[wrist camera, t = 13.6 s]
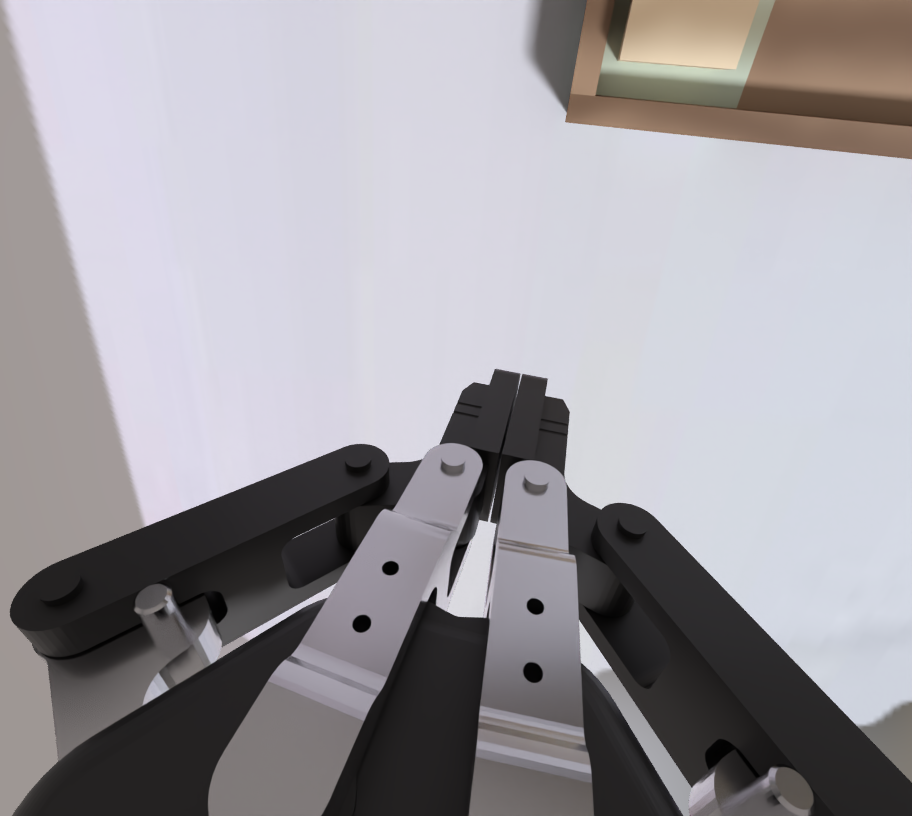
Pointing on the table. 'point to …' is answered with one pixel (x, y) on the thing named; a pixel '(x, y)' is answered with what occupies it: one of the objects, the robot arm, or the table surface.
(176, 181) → the table surface
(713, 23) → the beech block
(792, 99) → the box
